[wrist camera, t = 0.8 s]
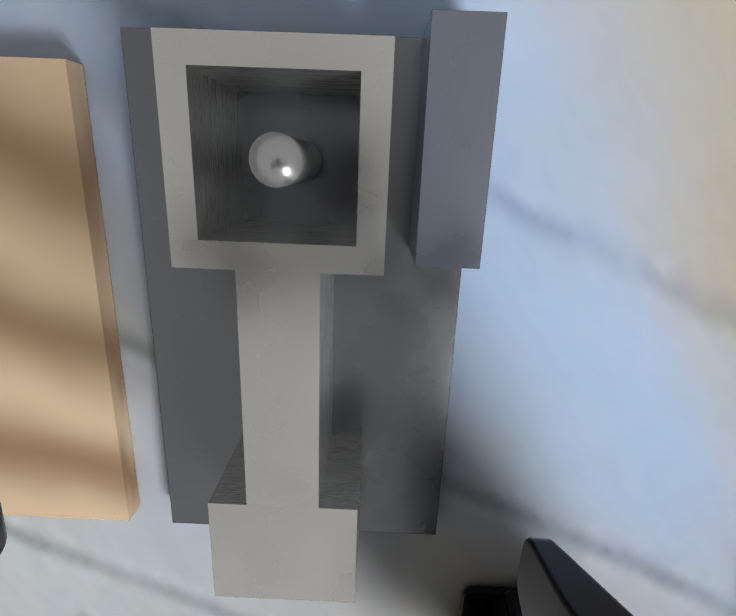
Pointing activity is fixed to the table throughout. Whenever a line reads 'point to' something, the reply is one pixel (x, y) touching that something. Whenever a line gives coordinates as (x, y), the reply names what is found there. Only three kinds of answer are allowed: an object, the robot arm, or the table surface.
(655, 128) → the table surface
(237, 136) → the white open-top bracket
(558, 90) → the table surface
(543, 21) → the table surface
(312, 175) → the plate
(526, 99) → the table surface
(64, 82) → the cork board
